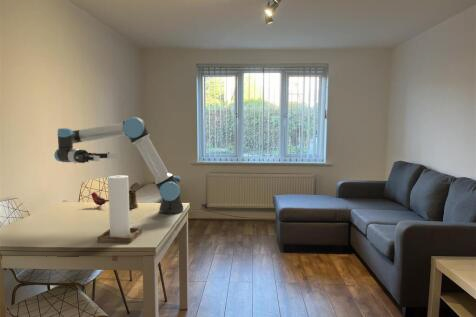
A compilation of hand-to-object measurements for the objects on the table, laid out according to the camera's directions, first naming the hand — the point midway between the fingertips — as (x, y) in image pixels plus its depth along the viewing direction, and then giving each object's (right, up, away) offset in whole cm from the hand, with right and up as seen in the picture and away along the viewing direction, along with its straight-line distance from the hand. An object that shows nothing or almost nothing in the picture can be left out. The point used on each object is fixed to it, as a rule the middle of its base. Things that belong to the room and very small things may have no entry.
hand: (108, 157), depth 198 cm
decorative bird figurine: (-21, -34, +47) cm, 62 cm away
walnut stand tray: (+12, -40, -16) cm, 45 cm away
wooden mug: (0, -34, +46) cm, 57 cm away
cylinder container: (+12, -39, -17) cm, 44 cm away
